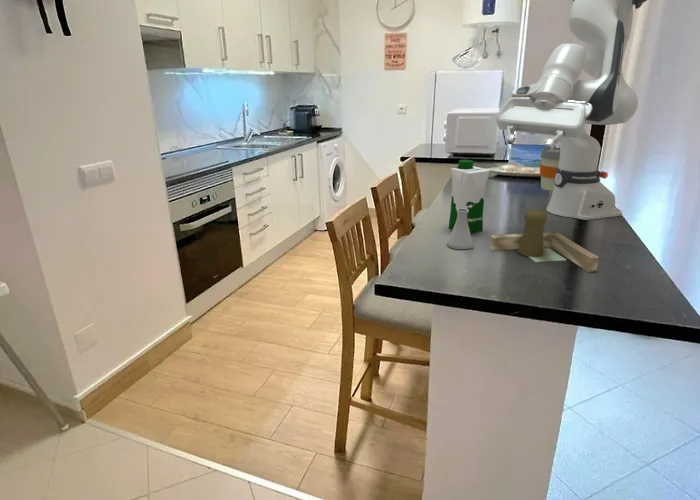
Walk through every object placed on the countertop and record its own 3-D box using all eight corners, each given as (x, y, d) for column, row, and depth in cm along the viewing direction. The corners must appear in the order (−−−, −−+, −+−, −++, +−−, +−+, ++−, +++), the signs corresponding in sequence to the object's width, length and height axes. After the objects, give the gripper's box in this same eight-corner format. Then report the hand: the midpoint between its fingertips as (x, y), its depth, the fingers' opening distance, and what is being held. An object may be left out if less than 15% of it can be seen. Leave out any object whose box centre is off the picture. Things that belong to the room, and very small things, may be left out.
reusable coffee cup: (572, 186, 179) (579, 148, 173) (567, 193, 169) (574, 153, 163) (539, 183, 185) (544, 146, 180) (533, 189, 175) (538, 151, 170)
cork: (545, 257, 111) (552, 215, 107) (520, 256, 112) (525, 214, 108) (540, 248, 116) (546, 208, 112) (516, 247, 117) (521, 207, 113)
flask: (443, 241, 123) (445, 206, 120) (469, 240, 124) (472, 205, 120) (450, 250, 116) (452, 214, 113) (477, 249, 117) (481, 213, 113)
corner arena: (553, 244, 120) (555, 231, 119) (596, 271, 103) (598, 257, 102) (489, 247, 118) (490, 235, 117) (521, 276, 101) (524, 262, 100)
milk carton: (466, 223, 137) (472, 158, 130) (487, 231, 130) (494, 162, 122) (443, 228, 134) (448, 160, 126) (464, 236, 126) (470, 166, 119)
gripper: (595, 111, 107) (575, 159, 104) (511, 105, 118) (491, 147, 115) (595, 93, 102) (573, 142, 99) (507, 88, 113) (486, 132, 110)
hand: (528, 145), depth 107 cm, fingers open, 8 cm apart
